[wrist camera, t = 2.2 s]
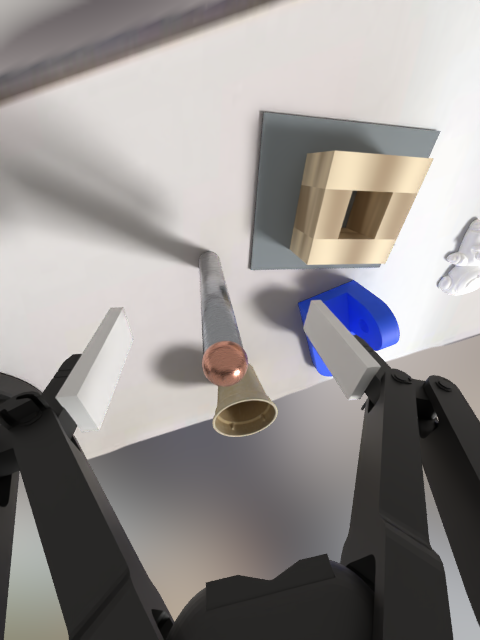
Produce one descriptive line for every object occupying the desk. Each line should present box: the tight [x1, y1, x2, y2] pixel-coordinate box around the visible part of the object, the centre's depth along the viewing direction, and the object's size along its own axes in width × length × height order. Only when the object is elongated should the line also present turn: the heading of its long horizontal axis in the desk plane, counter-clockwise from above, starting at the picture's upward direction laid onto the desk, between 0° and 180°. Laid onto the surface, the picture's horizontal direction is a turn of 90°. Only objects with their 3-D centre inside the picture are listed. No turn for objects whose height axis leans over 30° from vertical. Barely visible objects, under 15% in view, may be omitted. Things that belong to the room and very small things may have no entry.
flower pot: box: [213, 364, 278, 437], centre depth 34 cm, size 9×9×9 cm
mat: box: [251, 112, 440, 270], centre depth 24 cm, size 18×14×1 cm
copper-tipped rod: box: [199, 251, 248, 387], centre depth 18 cm, size 3×3×17 cm
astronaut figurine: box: [438, 220, 480, 295], centre depth 30 cm, size 9×12×3 cm
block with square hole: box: [290, 151, 433, 265], centre depth 21 cm, size 9×9×5 cm
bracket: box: [298, 280, 400, 376], centre depth 32 cm, size 18×8×9 cm, turn 21°
